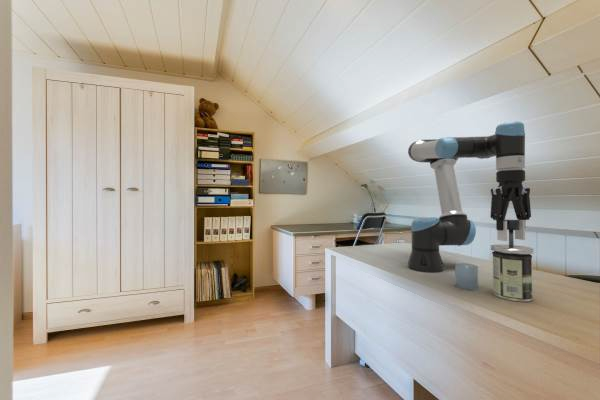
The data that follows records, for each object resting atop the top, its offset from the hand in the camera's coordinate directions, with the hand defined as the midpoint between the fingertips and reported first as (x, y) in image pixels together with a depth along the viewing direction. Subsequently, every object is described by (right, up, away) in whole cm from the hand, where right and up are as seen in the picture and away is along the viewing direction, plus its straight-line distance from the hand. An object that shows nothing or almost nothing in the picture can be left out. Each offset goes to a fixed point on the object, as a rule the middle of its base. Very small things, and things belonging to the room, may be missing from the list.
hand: (511, 239), depth 88 cm
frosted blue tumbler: (-9, -19, +9) cm, 23 cm away
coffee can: (0, -19, 0) cm, 19 cm away
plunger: (0, -4, 0) cm, 4 cm away
